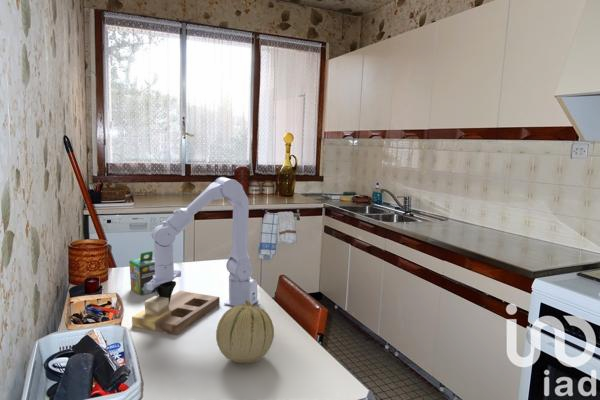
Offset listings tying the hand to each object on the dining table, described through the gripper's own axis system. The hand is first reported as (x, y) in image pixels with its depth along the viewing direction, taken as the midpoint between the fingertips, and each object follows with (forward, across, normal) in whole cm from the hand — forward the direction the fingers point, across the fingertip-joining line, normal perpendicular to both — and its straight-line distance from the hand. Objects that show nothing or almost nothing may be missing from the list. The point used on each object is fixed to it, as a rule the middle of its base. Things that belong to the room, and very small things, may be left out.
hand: (165, 304), depth 136 cm
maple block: (+1, +4, 0) cm, 4 cm away
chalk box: (+4, -17, -22) cm, 28 cm away
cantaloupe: (+4, +15, +36) cm, 39 cm away
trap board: (+4, -2, +3) cm, 6 cm away
